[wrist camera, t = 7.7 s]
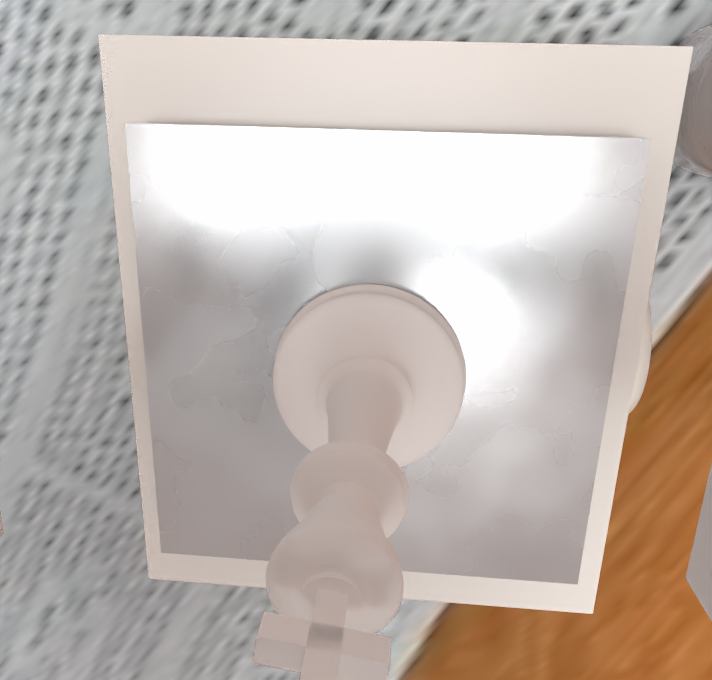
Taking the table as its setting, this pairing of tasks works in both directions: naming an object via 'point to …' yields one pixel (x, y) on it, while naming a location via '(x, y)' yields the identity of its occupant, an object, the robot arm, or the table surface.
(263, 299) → the textured square plate
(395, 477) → the chess piece
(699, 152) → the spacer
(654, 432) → the table surface
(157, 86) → the scale
